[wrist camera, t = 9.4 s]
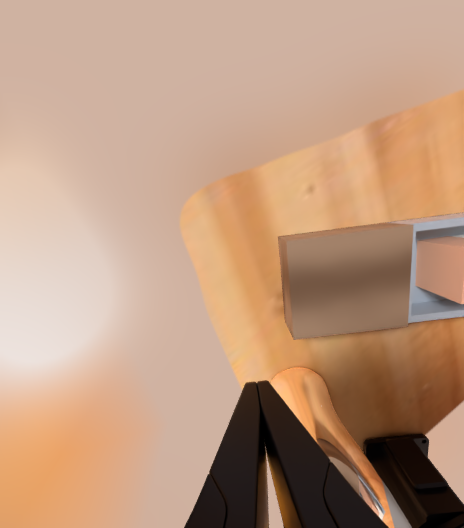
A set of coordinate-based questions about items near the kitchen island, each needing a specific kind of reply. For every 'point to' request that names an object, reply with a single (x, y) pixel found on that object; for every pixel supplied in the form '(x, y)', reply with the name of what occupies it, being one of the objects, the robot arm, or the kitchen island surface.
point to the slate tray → (421, 300)
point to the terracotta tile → (441, 267)
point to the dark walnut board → (346, 279)
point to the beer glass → (337, 441)
